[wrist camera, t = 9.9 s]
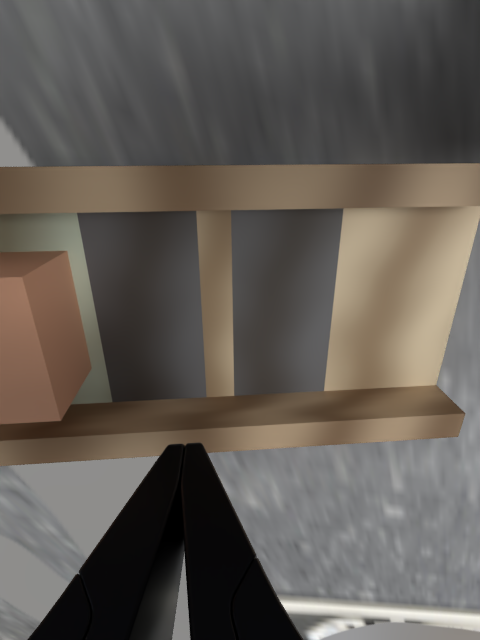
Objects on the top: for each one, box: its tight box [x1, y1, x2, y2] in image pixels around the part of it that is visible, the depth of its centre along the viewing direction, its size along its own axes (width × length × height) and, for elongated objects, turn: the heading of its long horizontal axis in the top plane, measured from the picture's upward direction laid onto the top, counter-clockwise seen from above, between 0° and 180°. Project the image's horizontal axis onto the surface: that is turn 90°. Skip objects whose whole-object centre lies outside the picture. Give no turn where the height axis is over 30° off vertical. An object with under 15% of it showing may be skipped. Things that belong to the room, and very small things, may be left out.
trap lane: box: [0, 163, 480, 466], centre depth 16 cm, size 27×13×4 cm, turn 90°
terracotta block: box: [0, 251, 92, 424], centre depth 14 cm, size 5×6×4 cm
